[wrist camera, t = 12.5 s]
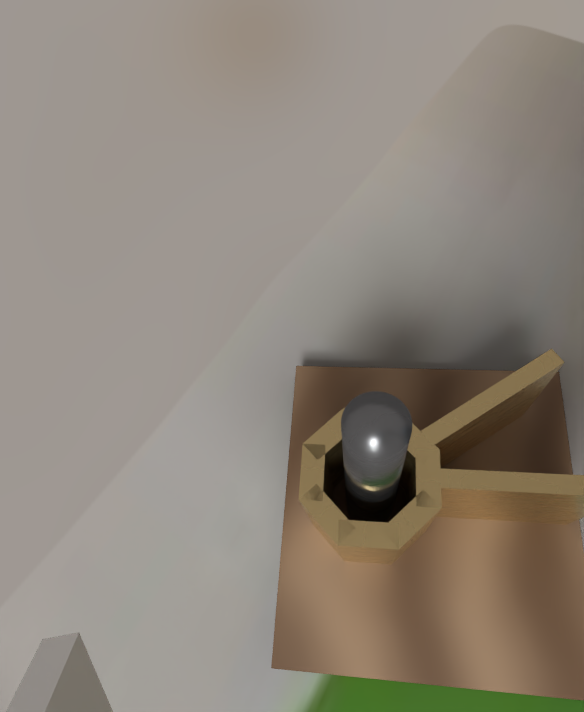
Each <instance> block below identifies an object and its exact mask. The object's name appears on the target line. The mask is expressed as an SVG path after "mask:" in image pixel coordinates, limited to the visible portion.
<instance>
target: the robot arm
mask: <svg viewBox="0 0 584 712" xmlns="http://www.w3.org/2000/svg"><path fill="white" fill-rule="evenodd" d="M6 712H113V711H112V708H111V706H110V704H109V701H108V699H107V697H106V694H105V692H104V690H103V687H102V685H101V683H100V680H99V678H98V676H97V673H96V671H95V669H94V666H93V664H92V662H91V659H90V657H89V655H88V653H87V650H86V648H85V646H84V643H83V641H82V639H81V636H80V634H79V633H74V634H69V635H63V636H58V637H53V638H48V639H42V641H41V643H40V645H39V647H38V649H37V651H36V653H35V655H34V657H33V659H32V661H31V663H30V665H29V667H28V669H27V671H26V673H25V675H24V677H23V679H22V681H21V683H20V685H19V687H18V689H17V691H16V693H15V695H14V697H13V699H12V701H11V703H10V705H9V707H8V709H7V711H6Z"/></svg>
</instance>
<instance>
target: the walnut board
mask: <svg viewBox="0 0 584 712" xmlns="http://www.w3.org/2000/svg"><path fill="white" fill-rule="evenodd" d="M514 372H515V371H497V370H453V369H408V368H364V367H319V366H296V376H295V389H294V401H293V413H292V425H291V437H290V449H289V461H288V473H287V485H286V498H285V510H284V522H283V534H282V546H281V558H280V570H279V582H278V594H277V606H276V619H275V631H274V643H273V655H272V667H271V668H274V669H284V670H294V671H303V672H313V673H323V674H333V675H342V676H352V677H362V678H371V679H381V680H391V681H401V682H410V683H420V684H430V685H439V686H449V687H459V688H468V689H478V690H488V691H498V692H507V693H517V694H527V695H536V696H546V697H556V698H565V699H575V700H584V552H583V545H582V537H581V530H580V523H579V519H578V520H576V521H574V522H572V523H570V524H567V525H565V524H549V523H532V522H515V521H499V520H482V519H465V518H449V517H435V519H434V520H433V521H432V523H431V524H430V526H429V527H428V529H427V530H426V531H425V533H424V534H423V535H422V536H420V537H419V538H418V539H417V540H416V541H415V542H414V543H413V544H412V545H411V546H410V547H409V548H408V549H407V550H406V551H405V552H404V553H403V554H402V555H401V556H400V557H399V558H398V559H397V560H396V561H395V562H394V563H393V564H392V565H390V564H376V563H363V562H349V561H343V559H342V558H341V557H340V556H339V555H338V553H337V552H336V551H335V550H334V549H333V548H332V546H331V545H330V544H329V543H328V542H327V541H326V539H325V538H324V537H323V536H322V535H321V533H320V532H319V531H318V530H317V529H316V528H315V526H314V525H313V524H312V522H311V520H310V519H309V517H308V515H307V513H306V512H305V510H304V508H303V507H302V505H301V503H300V501H299V486H300V473H301V459H302V445H303V443H304V442H305V441H306V440H307V439H308V438H310V437H311V436H312V435H313V434H314V433H315V432H316V431H318V430H319V429H320V428H321V427H322V426H323V425H325V424H326V423H327V422H328V421H329V420H330V419H331V418H333V417H334V416H335V415H336V414H337V413H338V412H339V411H341V410H342V409H343V408H345V407H346V406H347V404H348V403H349V402H350V401H351V400H352V399H354V398H355V397H356V396H358V395H360V394H363V393H366V392H371V391H380V392H385V393H389V394H391V395H393V396H395V397H397V398H398V399H399V400H401V401H402V402H403V403H404V404H405V406H406V407H407V408H408V410H409V412H410V415H411V418H412V423H413V424H414V425H415V426H416V427H417V428H418V429H419V430H420V431H421V430H423V429H425V428H426V427H428V426H429V425H431V424H433V423H434V422H436V421H437V420H439V419H440V418H442V417H444V416H445V415H447V414H448V413H450V412H452V411H453V410H455V409H456V408H458V407H460V406H461V405H463V404H464V403H466V402H468V401H469V400H471V399H472V398H474V397H475V396H477V395H479V394H480V393H482V392H483V391H485V390H487V389H488V388H490V387H491V386H493V385H495V384H496V383H498V382H499V381H501V380H503V379H504V378H506V377H507V376H509V375H510V374H512V373H514ZM441 469H462V470H483V471H504V472H525V473H546V474H567V475H573V471H572V464H571V457H570V449H569V442H568V435H567V427H566V420H565V413H564V405H563V398H562V391H561V383H560V376H559V372H557V373H556V374H555V375H554V376H553V378H552V379H551V380H550V382H549V383H548V384H547V385H546V387H545V388H544V389H543V391H542V392H541V393H540V394H539V396H538V397H537V398H536V399H535V401H534V402H533V403H532V405H531V406H530V407H529V408H528V410H527V411H526V412H525V414H524V415H523V416H521V417H520V418H518V419H516V420H515V421H513V422H512V423H510V424H509V425H507V426H505V427H504V428H502V429H501V430H499V431H498V432H496V433H495V434H493V435H491V436H490V437H488V438H487V439H485V440H484V441H482V442H481V443H479V444H477V445H476V446H474V447H473V448H471V449H470V450H468V451H467V452H465V453H463V454H462V455H460V456H459V457H457V458H456V459H454V460H453V461H451V462H449V463H448V464H446V465H445V466H443V467H442V468H441ZM333 503H334V504H335V505H336V506H337V507H338V508H339V510H340V511H341V512H342V513H343V514H344V515H345V516H346V517H347V519H348V520H352V519H351V518H350V516H349V514H348V511H347V504H346V490H345V478H344V479H343V480H342V481H341V482H340V483H339V484H338V485H337V486H336V487H335V488H334V494H333ZM404 507H405V491H404V490H403V489H402V488H401V487H400V486H399V485H398V489H397V493H396V497H395V501H394V505H393V509H392V513H391V516H390V518H389V519H388V521H387V522H386V523H388V522H390V521H391V520H392V519H393V518H394V517H395V516H396V515H397V514H398V513H399V512H400V511H401V510H402V509H403V508H404Z"/></svg>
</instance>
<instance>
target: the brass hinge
mask: <svg viewBox="0 0 584 712" xmlns="http://www.w3.org/2000/svg"><path fill="white" fill-rule="evenodd" d="M563 364H564V361H563V360H562V359H561V358H560V357H559V356H558V355H557V354H556V353H555V352H554V351H553V350H552V349H550V350H549V351H547V352H546V353H544V354H542V355H541V356H539V357H538V358H536V359H534V360H533V361H531V362H530V363H528V364H526V365H525V366H523V367H522V368H520V369H518V370H517V371H515V372H514V373H512V374H510V375H509V376H507V377H506V378H504V379H503V380H501V381H499V382H498V383H496V384H495V385H493V386H491V387H490V388H488V389H487V390H485V391H483V392H482V393H480V394H479V395H477V396H475V397H474V398H472V399H471V400H469V401H468V402H466V403H464V404H463V405H461V406H460V407H458V408H456V409H455V410H453V411H452V412H450V413H448V414H447V415H445V416H444V417H442V418H440V419H439V420H437V421H436V422H434V423H433V424H431V425H429V426H428V427H426V428H425V429H423V430H421V431H420V430H419V429H418V428H417V427H416V426H415V425H414V424H413V423H412V433H411V437H410V441H409V445H408V449H407V453H406V457H405V461H404V465H403V469H402V473H401V477H400V481H399V486H400V487H401V488H402V489H403V490H404V491H405V507H404V508H403V509H402V510H401V511H400V512H399V513H398V514H397V515H396V516H395V517H394V518H393V519H392V520H391V521H390V522H388V523H386V522H370V521H354V520H348V519H347V517H346V516H345V515H344V514H343V513H342V512H341V511H340V510H339V508H338V507H337V506H336V505H335V504H334V503H333V494H334V488H335V487H336V486H337V485H338V484H339V483H340V482H341V481H342V480H343V479H344V478H345V475H344V461H343V447H342V433H341V417H342V414H343V411H344V409H345V408H343V409H342V410H341V411H339V412H338V413H337V414H336V415H335V416H334V417H333V418H331V419H330V420H329V421H328V422H327V423H326V424H325V425H323V426H322V427H321V428H320V429H319V430H318V431H316V432H315V433H314V434H313V435H312V436H311V437H310V438H308V439H307V440H306V441H305V442H304V443H303V445H302V459H301V473H300V486H299V501H300V503H301V505H302V507H303V508H304V510H305V512H306V513H307V515H308V517H309V519H310V520H311V522H312V524H313V525H314V526H315V528H316V529H317V530H318V531H319V532H320V533H321V535H322V536H323V537H324V538H325V539H326V541H327V542H328V543H329V544H330V545H331V546H332V548H333V549H334V550H335V551H336V552H337V553H338V555H339V556H340V557H341V558H342V559H343V561H349V562H363V563H376V564H390V565H392V564H393V563H394V562H395V561H396V560H397V559H398V558H399V557H400V556H401V555H402V554H403V553H404V552H405V551H406V550H407V549H408V548H409V547H410V546H411V545H412V544H413V543H414V542H415V541H416V540H417V539H418V538H419V537H420V536H422V535H423V534H424V533H425V531H426V530H427V529H428V527H429V526H430V524H431V523H432V521H433V520H434V519H435V517H449V518H465V519H482V520H499V521H515V522H532V523H549V524H565V525H567V524H570V523H572V522H574V521H576V520H578V519H581V518H583V517H584V475H567V474H546V473H525V472H504V471H483V470H462V469H441V468H442V467H443V466H445V465H446V464H448V463H449V462H451V461H453V460H454V459H456V458H457V457H459V456H460V455H462V454H463V453H465V452H467V451H468V450H470V449H471V448H473V447H474V446H476V445H477V444H479V443H481V442H482V441H484V440H485V439H487V438H488V437H490V436H491V435H493V434H495V433H496V432H498V431H499V430H501V429H502V428H504V427H505V426H507V425H509V424H510V423H512V422H513V421H515V420H516V419H518V418H520V417H521V416H523V415H524V414H525V412H526V411H527V410H528V408H529V407H530V406H531V405H532V403H533V402H534V401H535V399H536V398H537V397H538V396H539V394H540V393H541V392H542V391H543V389H544V388H545V387H546V385H547V384H548V383H549V382H550V380H551V379H552V378H553V376H554V375H555V374H556V373H557V371H558V370H559V369H560V367H561V366H562V365H563Z"/></svg>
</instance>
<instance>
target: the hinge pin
mask: <svg viewBox="0 0 584 712" xmlns="http://www.w3.org/2000/svg"><path fill="white" fill-rule="evenodd" d="M341 433H342V447H343V461H344V475H345V490H346V504H347V511H348V514H349V516H350V518H351V519H352V520H354V521H370V522H387V521H388V519H389V518H390V516H391V513H392V509H393V505H394V501H395V497H396V493H397V489H398V485H399V481H400V477H401V473H402V469H403V465H404V461H405V457H406V453H407V449H408V445H409V441H410V437H411V433H412V418H411V415H410V412H409V410H408V408H407V407H406V406H405V404H404V403H403V402H402V401H401V400H399V399H398V398H397V397H395V396H393V395H391V394H389V393H385V392H380V391H371V392H366V393H363V394H360V395H358V396H356V397H355V398H354V399H352V400H351V401H350V402H349V403H348V404H347V406H346V407H345V409H344V411H343V414H342V417H341Z"/></svg>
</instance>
